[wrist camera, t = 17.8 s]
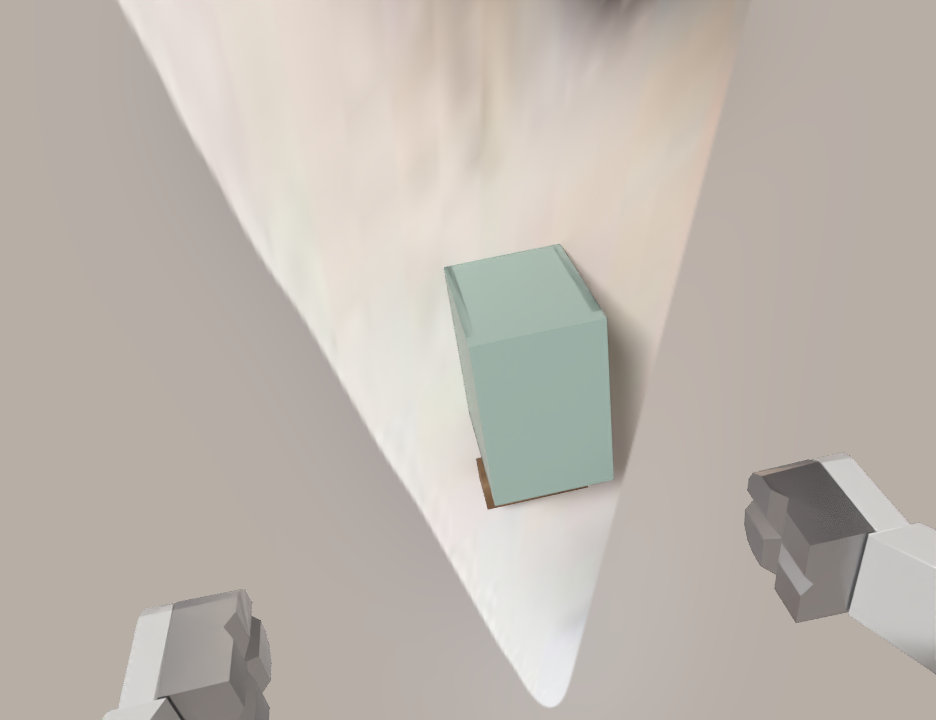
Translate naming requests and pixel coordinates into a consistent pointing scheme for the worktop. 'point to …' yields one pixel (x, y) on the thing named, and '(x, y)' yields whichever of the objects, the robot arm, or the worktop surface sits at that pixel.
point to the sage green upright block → (533, 372)
